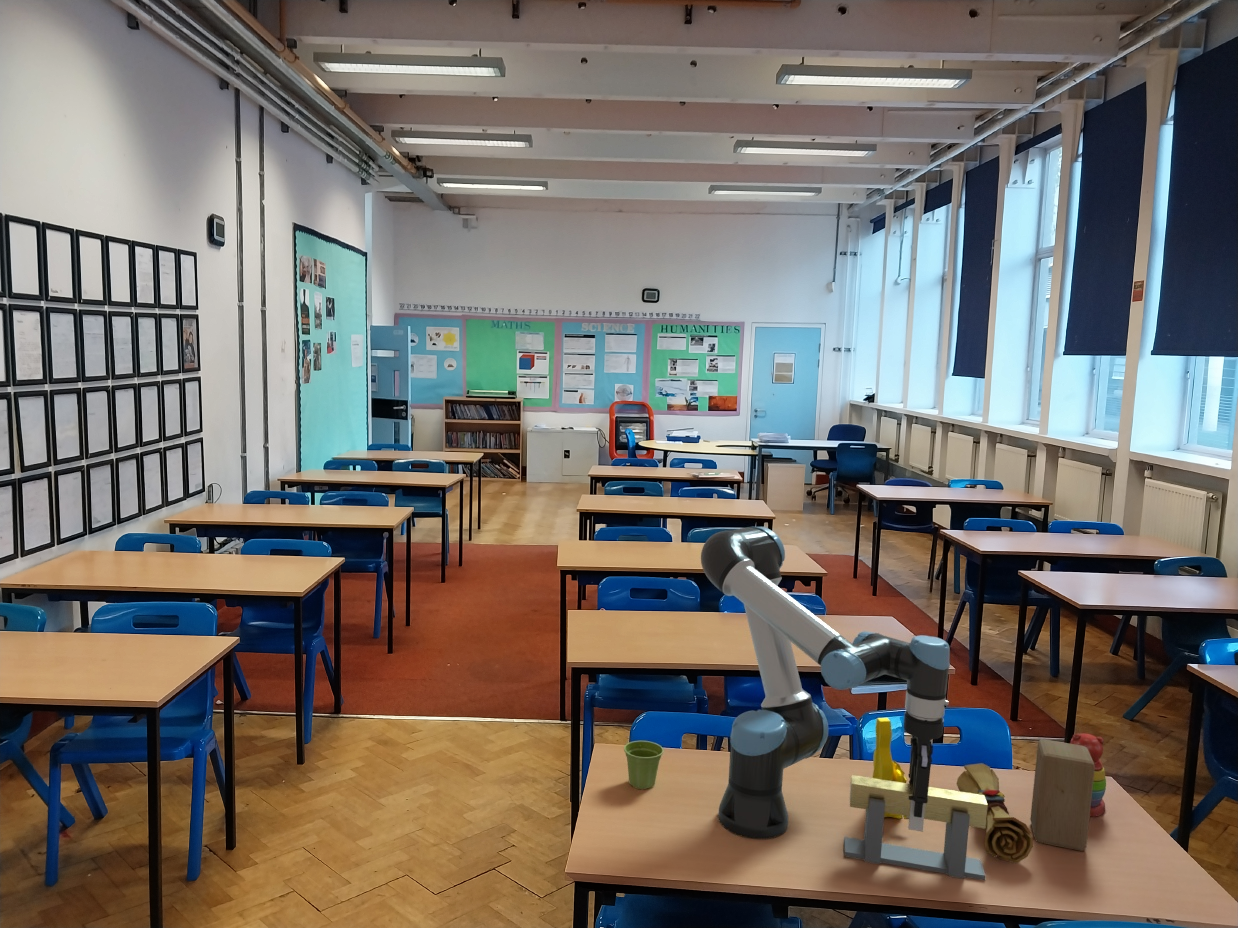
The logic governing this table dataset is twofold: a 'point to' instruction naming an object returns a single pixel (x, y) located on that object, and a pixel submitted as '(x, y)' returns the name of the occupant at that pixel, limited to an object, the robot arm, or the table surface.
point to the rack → (945, 862)
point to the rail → (935, 808)
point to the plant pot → (642, 763)
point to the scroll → (997, 815)
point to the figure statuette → (886, 758)
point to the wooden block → (1062, 794)
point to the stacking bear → (1099, 773)
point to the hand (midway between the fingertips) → (914, 823)
